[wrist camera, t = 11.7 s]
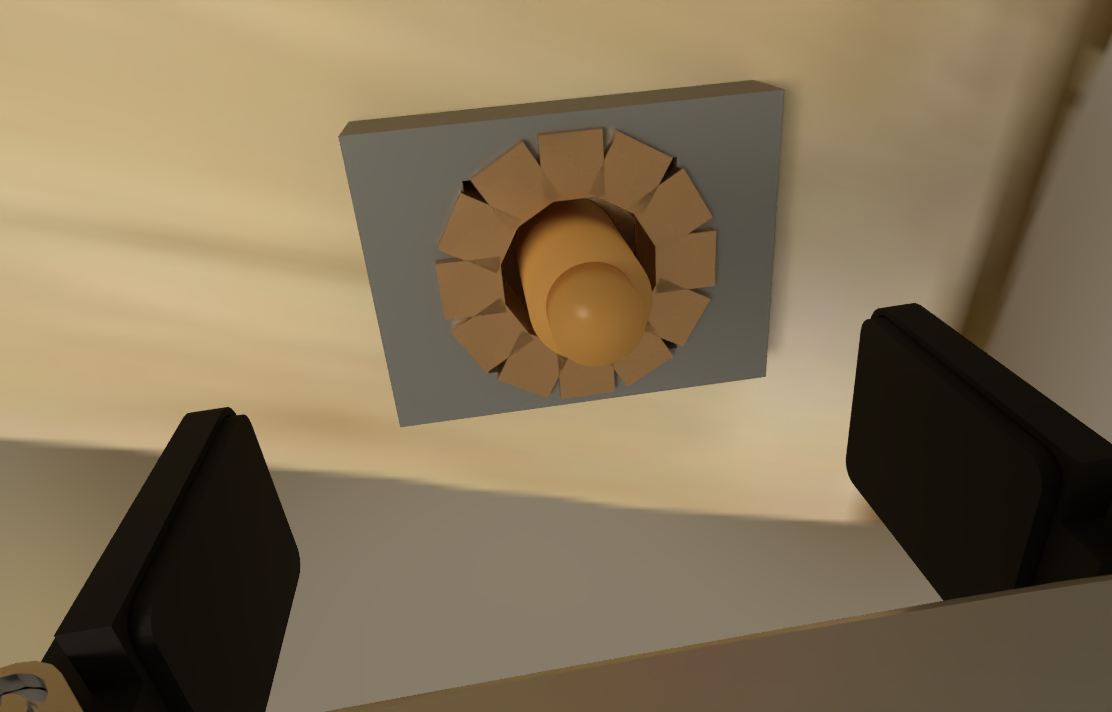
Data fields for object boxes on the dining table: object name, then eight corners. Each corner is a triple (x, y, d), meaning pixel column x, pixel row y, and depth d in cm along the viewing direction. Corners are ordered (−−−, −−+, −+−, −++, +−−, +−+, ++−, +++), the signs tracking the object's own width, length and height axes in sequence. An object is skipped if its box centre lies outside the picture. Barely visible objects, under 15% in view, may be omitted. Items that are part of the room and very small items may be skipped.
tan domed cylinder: (614, 190, 30) (663, 253, 23) (618, 287, 32) (664, 372, 25) (509, 202, 30) (526, 269, 23) (520, 299, 32) (539, 389, 25)
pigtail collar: (690, 102, 29) (719, 116, 26) (688, 342, 34) (712, 377, 31) (419, 130, 28) (416, 148, 25) (458, 373, 33) (460, 412, 30)
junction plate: (753, 80, 29) (784, 89, 26) (741, 346, 34) (765, 376, 32) (348, 121, 28) (338, 136, 25) (404, 391, 33) (400, 427, 31)
